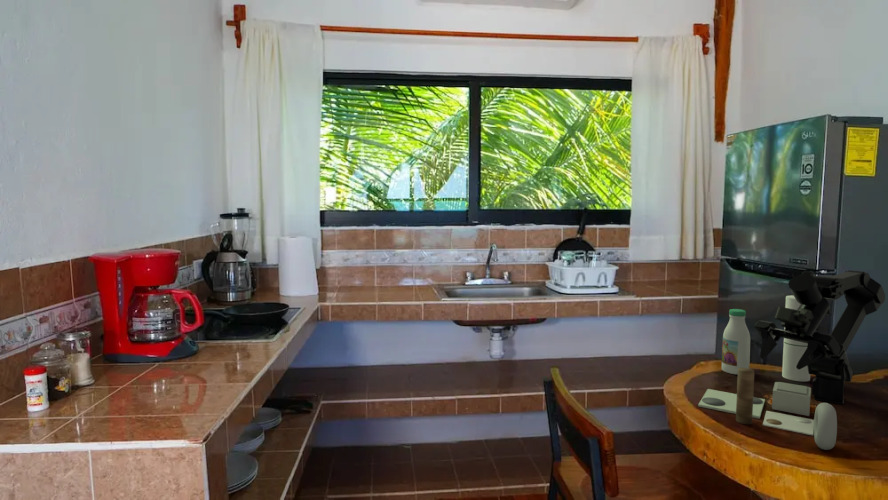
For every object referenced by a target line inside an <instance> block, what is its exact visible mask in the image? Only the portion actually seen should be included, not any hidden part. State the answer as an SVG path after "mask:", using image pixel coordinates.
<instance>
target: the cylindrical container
mask: <svg viewBox="0 0 888 500" xmlns="http://www.w3.org/2000/svg"><path fill="white" fill-rule="evenodd" d="M800 305H801V304H800V303H798V302H797V301H796V299H795V297H794V295H793V294H791V295H786V296H785V306H784V308H789V309H794V310H797V309H798V308H799V306H800ZM783 328H784V329H783V330H785V327H783ZM807 346H808V343H803V342H799V341H795V340H791V339H787V338H783V351H782V371H781V376H782V377H783V378H784V379H786V380H790V381H796V382H810V381H811V374H809V372H808V365H807V366H806V367H804V368H802V369H800V370H799V369H797V368H796V366H797V364H798V361H799V360H800V358H801V357H802V355H803V354H804V352H805V351H806V349H807Z"/></svg>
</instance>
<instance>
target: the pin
mask: <svg viewBox="0 0 888 500" xmlns="http://www.w3.org/2000/svg"><path fill="white" fill-rule="evenodd" d="M754 389H755V370H754V369H752V368H749V369H748V368H738V375H737V379H736V394H737V403H736V414H735V421H736V422H737V423H740V424H742V425H752V424H753V417H752V414H753V397H754Z"/></svg>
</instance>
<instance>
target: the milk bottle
mask: <svg viewBox="0 0 888 500" xmlns="http://www.w3.org/2000/svg"><path fill="white" fill-rule="evenodd" d="M728 312H729V313H728V316H729V321H728V323H727V325H726V327H725V328H724V330H723V334H722V346H721V370H722V371H723V372H725V373H727V374H731V375H737V376H738V368H748V369H750V360H751V358H750V357H751V334H750V332H749V331H750V330H749V329H748V326H747V324H746V316H747V311H746V310H745V309H740V308H732V309H729V311H728Z"/></svg>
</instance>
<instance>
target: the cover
mask: <svg viewBox="0 0 888 500" xmlns="http://www.w3.org/2000/svg"><path fill="white" fill-rule="evenodd" d="M811 395H812V388H811V387H809V386H807V385H801V384H800V385H799V384H794V383H788V382H783V381H775V382H774V385H773V388H772V397H771V399H772V401H771V402H772V403H771V409H772V410H776V411H780V412H785V413H786V412H787V413H791V414H797V415H803V416H807V417H810V410H811Z"/></svg>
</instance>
